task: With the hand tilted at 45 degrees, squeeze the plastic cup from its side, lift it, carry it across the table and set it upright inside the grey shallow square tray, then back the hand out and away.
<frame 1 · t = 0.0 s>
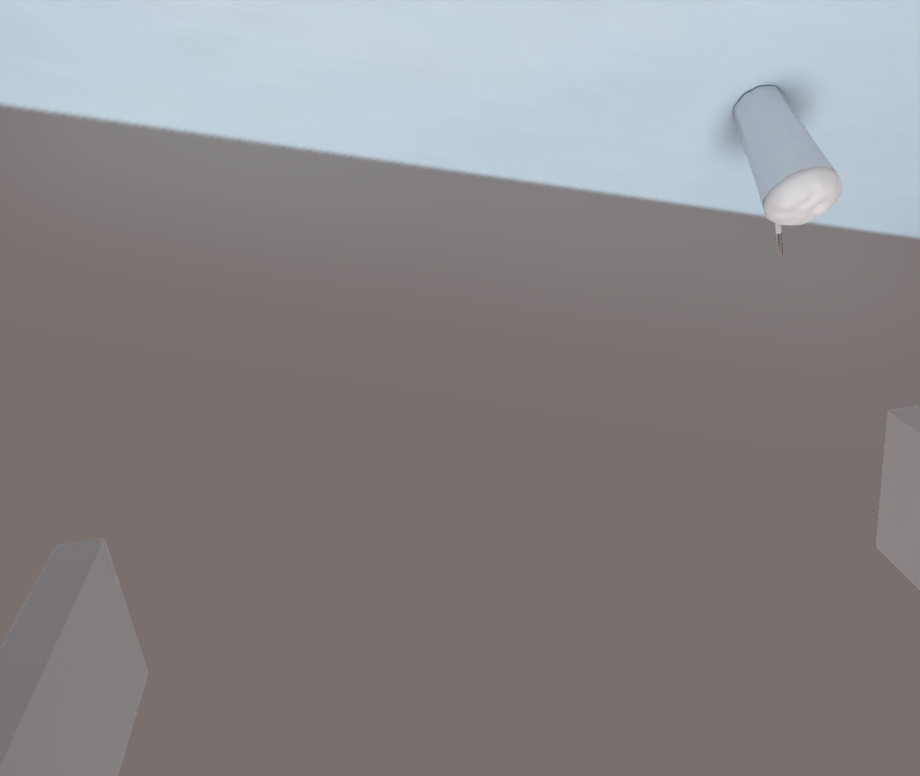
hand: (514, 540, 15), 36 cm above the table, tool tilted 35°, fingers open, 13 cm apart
milkshake: (752, 107, 57), on the table
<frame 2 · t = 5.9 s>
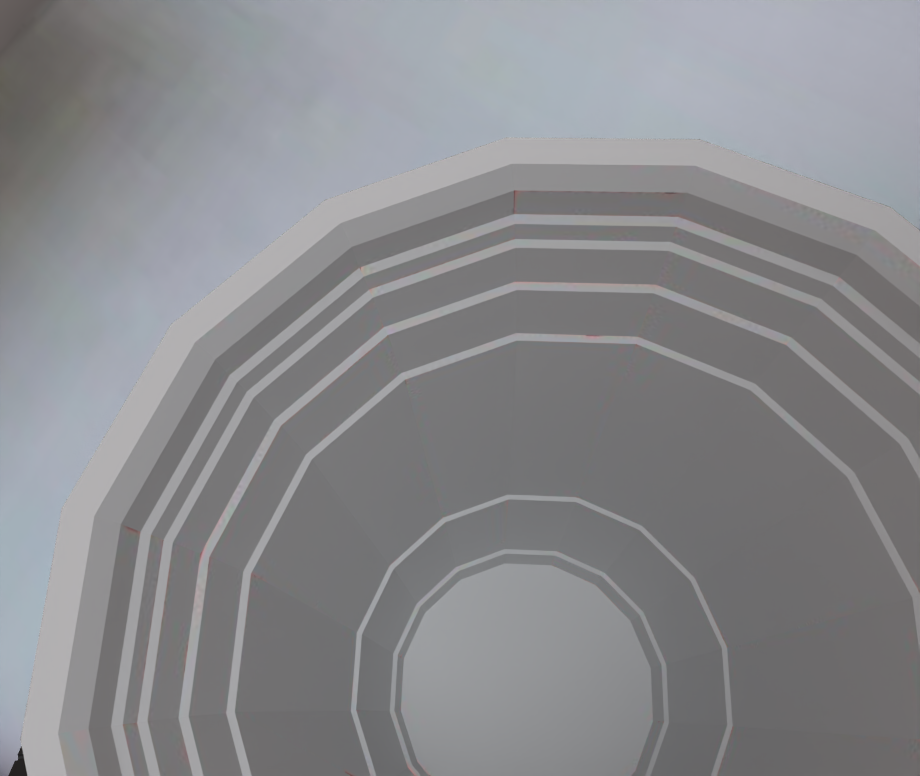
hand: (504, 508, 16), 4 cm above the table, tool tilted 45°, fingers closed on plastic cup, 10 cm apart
plastic cup: (519, 699, 19), on the table, touching gripper
when the fingers open (7 cm above the table, at t = 11.8 s): plastic cup moves 3 cm, resting on grey shallow square tray.
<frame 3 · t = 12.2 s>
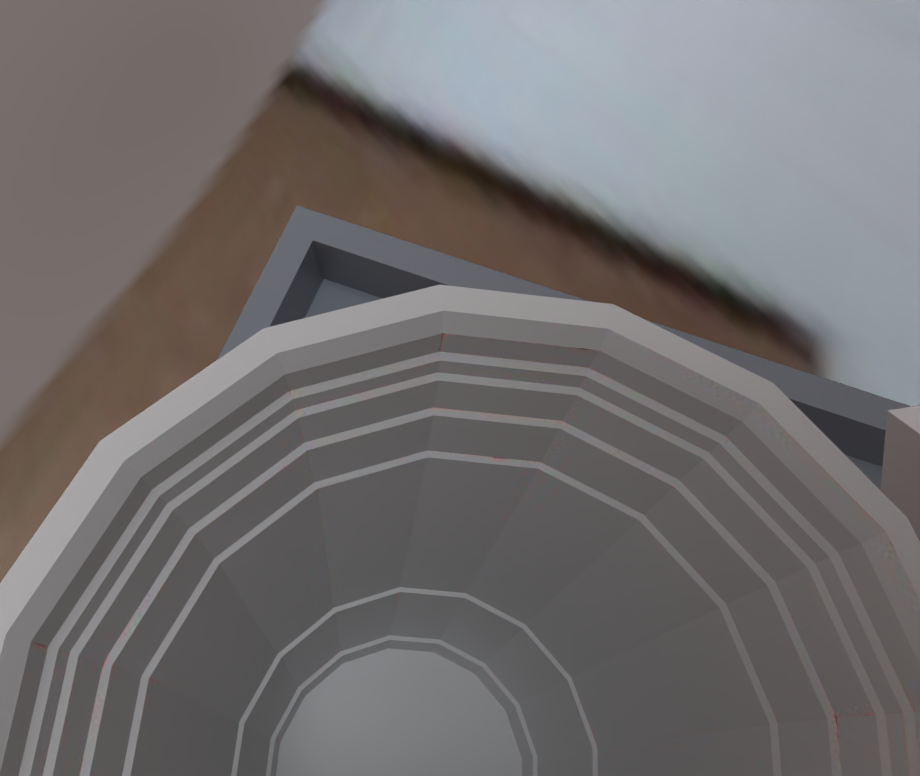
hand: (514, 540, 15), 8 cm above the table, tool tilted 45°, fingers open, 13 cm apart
grey shallow square tray: (513, 703, 21), on the table
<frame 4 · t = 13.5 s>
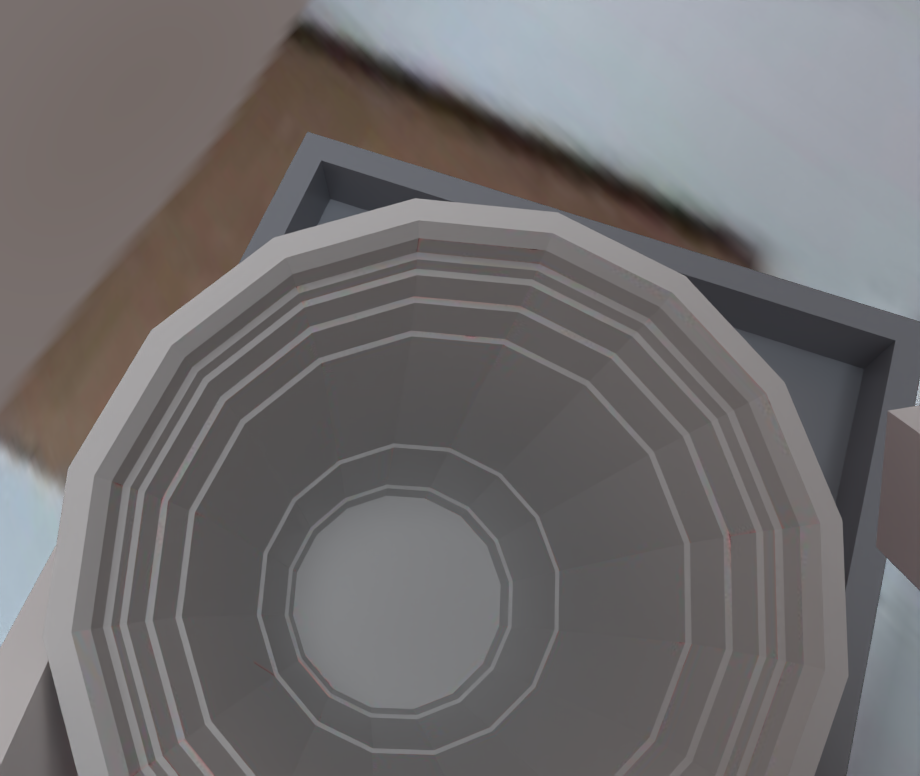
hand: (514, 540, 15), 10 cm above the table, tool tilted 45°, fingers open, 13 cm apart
grey shallow square tray: (494, 547, 25), on the table
plastic cup: (392, 607, 23), point 1 cm above the table, touching grey shallow square tray
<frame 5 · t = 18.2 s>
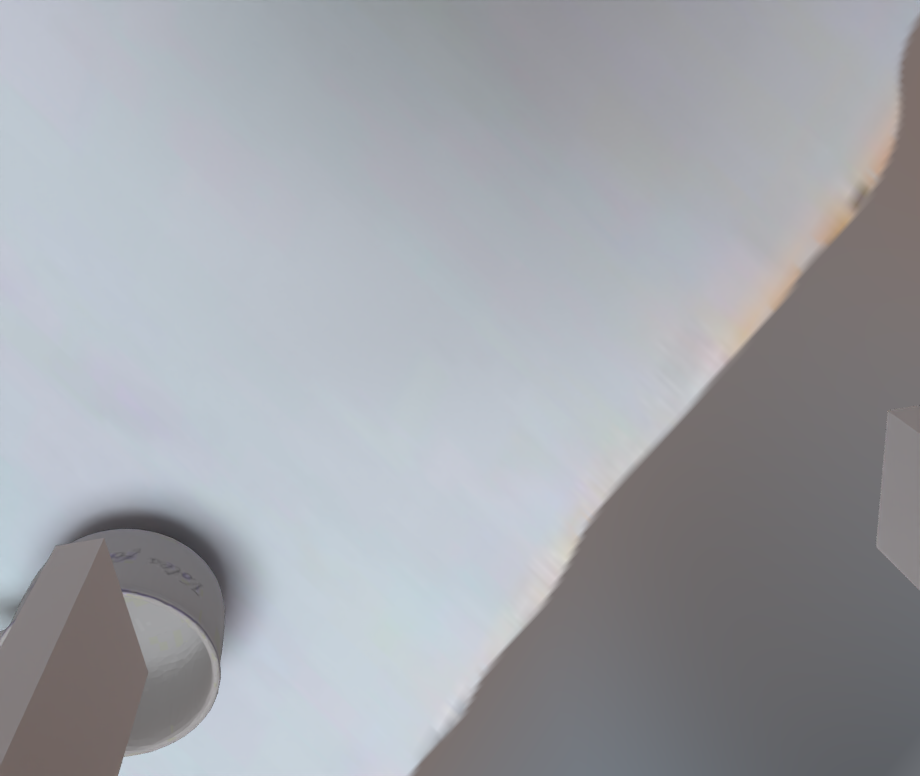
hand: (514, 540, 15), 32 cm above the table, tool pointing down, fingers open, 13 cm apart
teacup: (112, 584, 51), on the table
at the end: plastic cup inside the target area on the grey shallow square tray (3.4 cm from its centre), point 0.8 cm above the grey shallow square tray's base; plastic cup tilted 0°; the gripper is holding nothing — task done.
